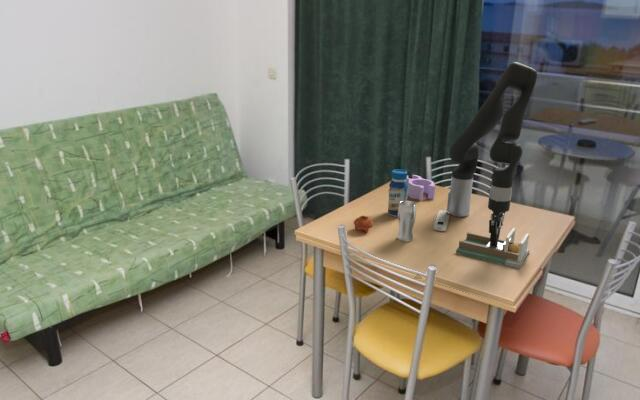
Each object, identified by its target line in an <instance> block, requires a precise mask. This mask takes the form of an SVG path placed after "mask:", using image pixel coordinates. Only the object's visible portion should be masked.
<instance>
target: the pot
mask: <svg viewBox="0 0 640 400" xmlns="http://www.w3.org/2000/svg"><path fill="white" fill-rule="evenodd" d="M353 224H354V230H355V231H357V230H358V229H359V230H361V231H365V234H367V233H369V232H368V231H369V229H371V228H372V227H373V225H374V221H373V220H372V219H371V218H370V217H368V216H366V215H360V216H359V217H357V218H356V219H354V221H353Z"/></svg>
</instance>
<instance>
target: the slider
mask: <svg viewBox="0 0 640 400" xmlns="http://www.w3.org/2000/svg"><path fill="white" fill-rule="evenodd" d="M500 226H501V224H500ZM501 227H502V226H501ZM493 230H494V229H493ZM499 231H500V232H501V229H500V228H498V233H497V239H496V243H492V242H489V243H488V244H487V246H486V247H491V248H495V249H499V250H504V249H505V242H504V243H499V242H498V238H499V239H500V235H499ZM510 242H511V238H510V239H509V245H508V250H509V246H510Z"/></svg>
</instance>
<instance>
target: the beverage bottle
mask: <svg viewBox="0 0 640 400" xmlns="http://www.w3.org/2000/svg"><path fill="white" fill-rule="evenodd" d="M390 176H391V180H390V182H389V186H388V187H389V189H388V203H387V204H388V205H387V206H388V207H387V214H388V215H389V216H390V217H396V218H398V208H399V202H401V201H408V190H407V188H408V184H407V182H406V179H407V176H408V171H407V170H405V169H401V168H400V169H399V168H398V169H397V168H396V169H393V170H392V171H391V175H390Z"/></svg>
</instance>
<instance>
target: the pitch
mask: <svg viewBox="0 0 640 400" xmlns="http://www.w3.org/2000/svg"><path fill="white" fill-rule="evenodd" d="M516 230H517V229H516V227H512V229H511V230H510V231H509V232H508V234H507V235H506V237H505V239H500V238H499V239H498V242H499V243H504V242H505V249H504V250H499V249H495V248H491V247H486V246H487V244H488V243H489V242H490V236H486V235H482V234H477V233H472V232H466V239H464V241H463V240H459V241H458V247H457V248H456V249H455V250H456V252H455V254H458V255H463V256H466V257H470V258H474V259H479V260H483V261H487V262H491V263H494V264H499V265H503V266H507V267H511V268H514V269H520V268H521V267H522V265H523V263H524V262H525V260H526V258H527V256H528V255H529V253H530V247H529V248H528V246H529V245H528V244H529V238H530V233H526V234H524V236H523V237H522V239H521V241H520V242H515V235H516ZM510 238H511V242H510V245H511V244H514V243H515V244H518V245H519V246H520V248H519V253H518V254H517V253H512V252H509V250H508V245H509V239H510Z"/></svg>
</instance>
